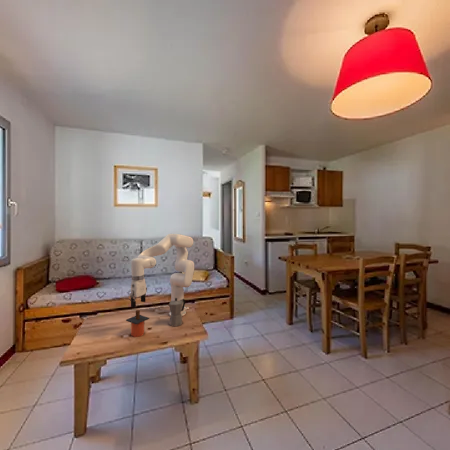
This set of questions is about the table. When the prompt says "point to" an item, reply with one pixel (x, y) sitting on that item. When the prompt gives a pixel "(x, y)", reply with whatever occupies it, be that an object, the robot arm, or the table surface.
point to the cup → (137, 329)
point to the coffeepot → (176, 312)
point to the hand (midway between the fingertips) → (138, 304)
